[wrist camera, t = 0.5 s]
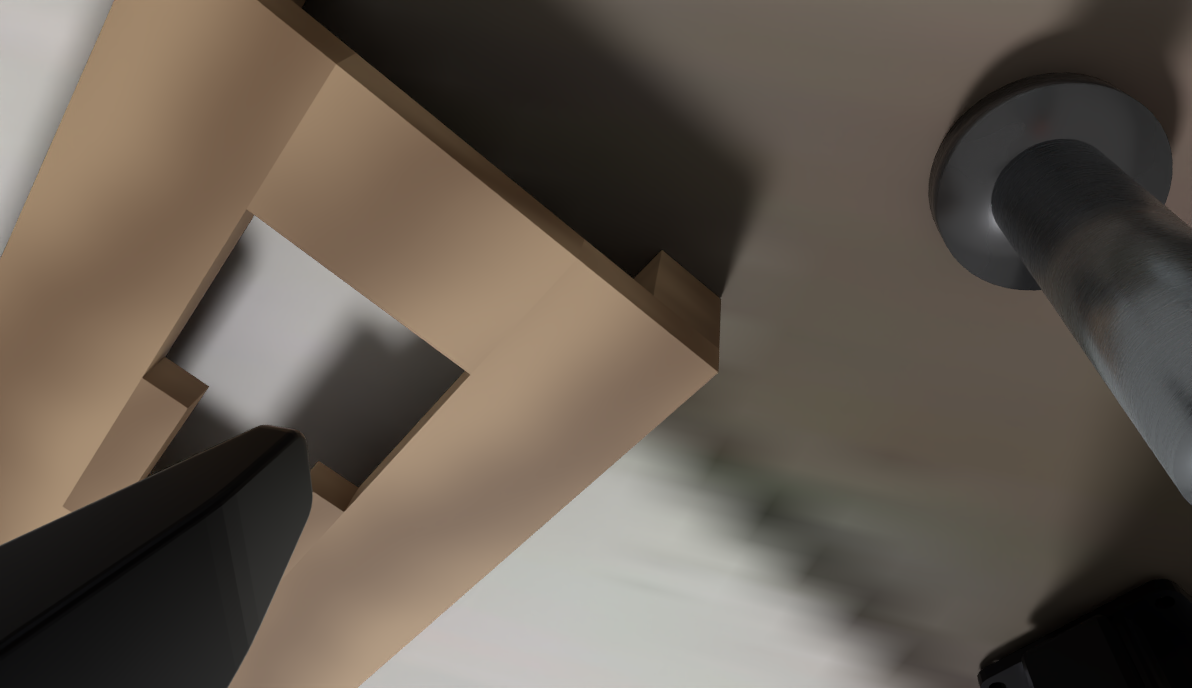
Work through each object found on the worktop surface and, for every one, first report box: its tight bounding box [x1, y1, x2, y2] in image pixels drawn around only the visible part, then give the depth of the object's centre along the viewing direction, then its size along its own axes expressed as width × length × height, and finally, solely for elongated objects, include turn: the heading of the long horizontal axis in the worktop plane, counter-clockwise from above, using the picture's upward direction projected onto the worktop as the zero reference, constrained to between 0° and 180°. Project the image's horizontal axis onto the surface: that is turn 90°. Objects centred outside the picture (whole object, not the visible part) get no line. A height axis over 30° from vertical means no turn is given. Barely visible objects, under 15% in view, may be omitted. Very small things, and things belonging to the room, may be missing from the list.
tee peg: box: [928, 73, 1192, 505], centre depth 15 cm, size 5×5×10 cm
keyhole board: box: [0, 0, 721, 688], centre depth 24 cm, size 14×22×4 cm, turn 141°
